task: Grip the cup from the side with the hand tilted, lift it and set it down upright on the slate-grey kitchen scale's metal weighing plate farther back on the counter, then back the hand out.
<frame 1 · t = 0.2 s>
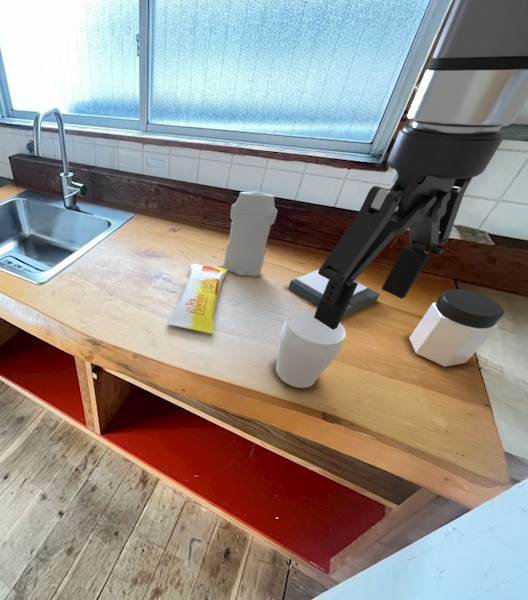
hand: (360, 307, 42), 21 cm above the worktop, tool pointing down, fingers open, 13 cm apart
tall pale column: (240, 272, 89), on the worktop
jar: (435, 351, 63), on the worktop
scale: (330, 295, 78), on the worktop
cup: (294, 374, 60), on the worktop
food package: (199, 297, 80), on the worktop
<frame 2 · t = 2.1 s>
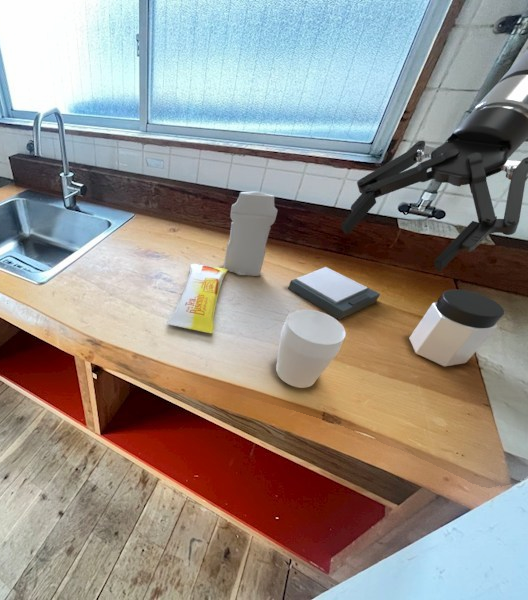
hand: (386, 246, 49), 24 cm above the worktop, tool tilted 45°, fingers open, 13 cm apart
nothing on the worktop moved.
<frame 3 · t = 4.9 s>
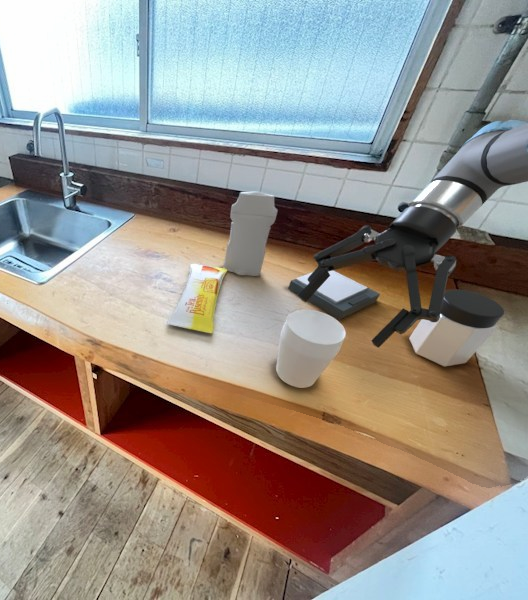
hand: (334, 319, 55), 11 cm above the worktop, tool tilted 45°, fingers open, 13 cm apart
nothing on the worktop moved.
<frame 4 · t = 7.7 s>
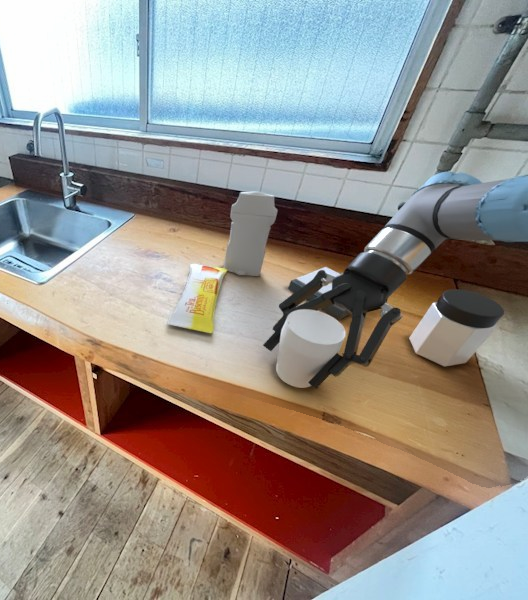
hand: (288, 365, 56), 4 cm above the worktop, tool tilted 45°, fingers closed on cup, 9 cm apart
cup: (294, 374, 60), on the worktop, touching gripper
everything else where it was.
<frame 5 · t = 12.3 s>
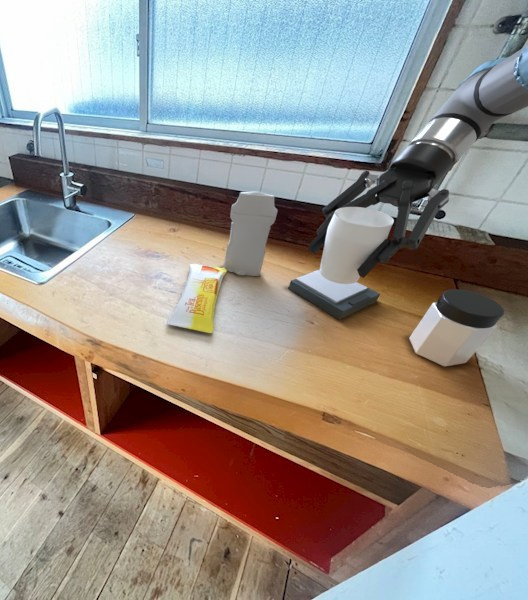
hand: (334, 261, 59), 17 cm above the worktop, tool tilted 45°, fingers closed on cup, 9 cm apart
cup: (337, 276, 62), point 13 cm above the worktop, touching gripper
everything else where it was.
when the fingers open (7 cm above the worktop, at t = 17.3 s): cup stays where it is, resting on scale.
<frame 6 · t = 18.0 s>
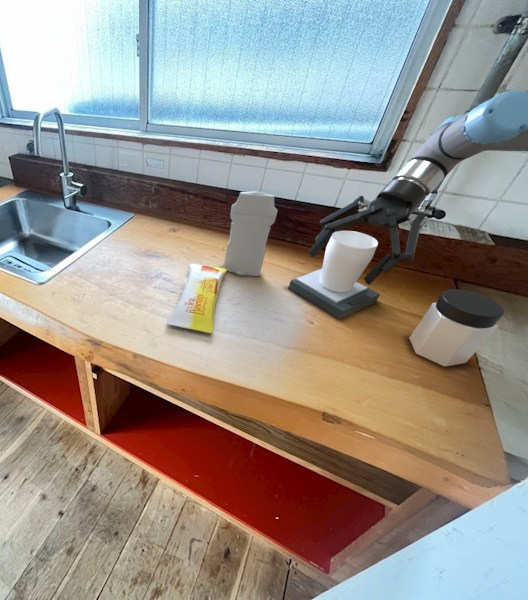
hand: (336, 267, 72), 9 cm above the worktop, tool tilted 45°, fingers open, 13 cm apart
cup: (334, 285, 77), point 3 cm above the worktop, touching scale
everything else where it was.
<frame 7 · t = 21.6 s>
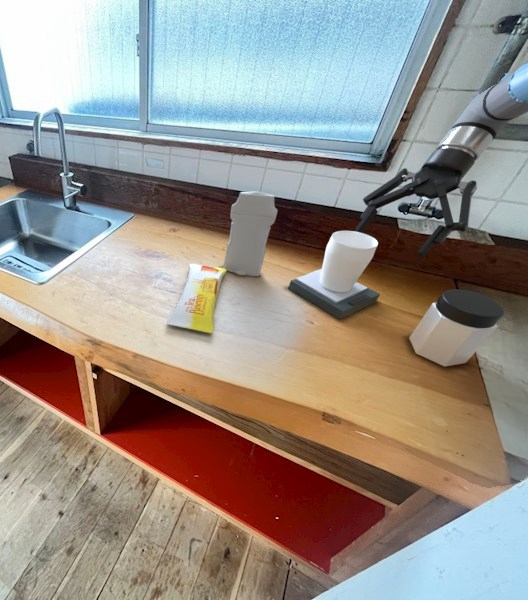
hand: (386, 243, 74), 12 cm above the worktop, tool tilted 35°, fingers open, 13 cm apart
nothing on the worktop moved.
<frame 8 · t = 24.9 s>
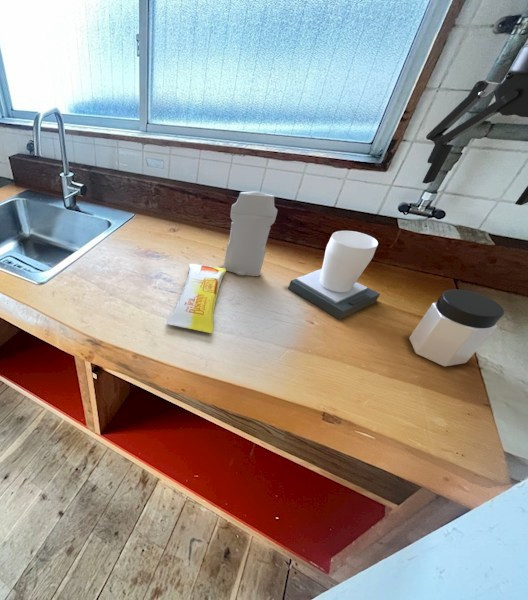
hand: (470, 191, 58), 27 cm above the worktop, tool pointing down, fingers open, 13 cm apart
nothing on the worktop moved.
at the end: cup inside the target area on the scale (1.0 cm from its centre), point 2.8 cm above the scale's base; cup tilted 0°; cup touching scale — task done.
